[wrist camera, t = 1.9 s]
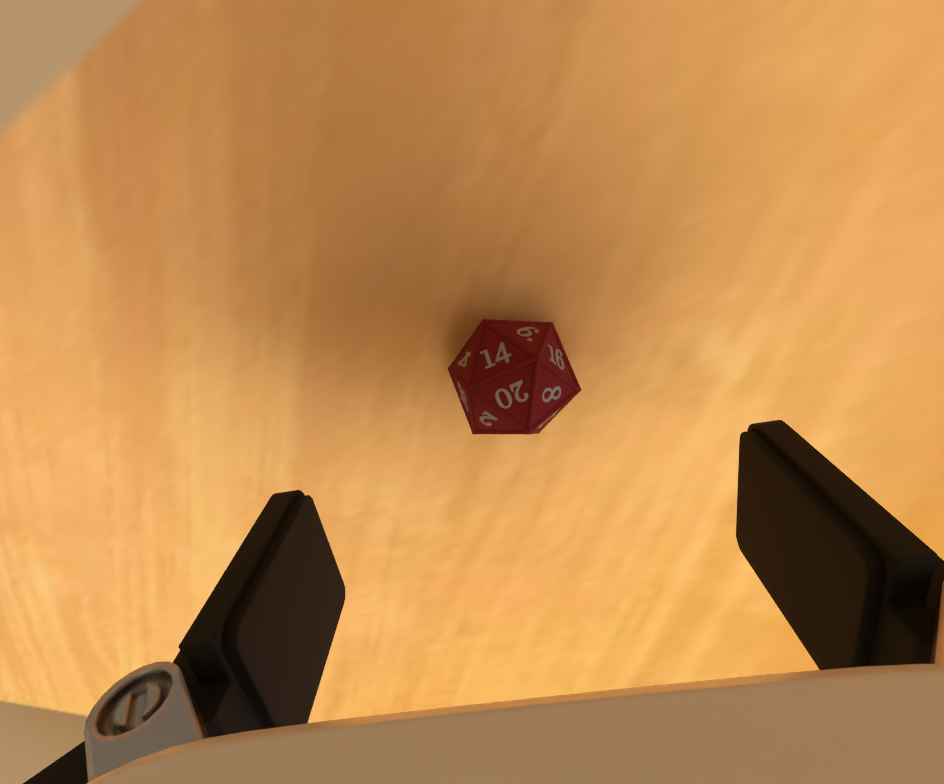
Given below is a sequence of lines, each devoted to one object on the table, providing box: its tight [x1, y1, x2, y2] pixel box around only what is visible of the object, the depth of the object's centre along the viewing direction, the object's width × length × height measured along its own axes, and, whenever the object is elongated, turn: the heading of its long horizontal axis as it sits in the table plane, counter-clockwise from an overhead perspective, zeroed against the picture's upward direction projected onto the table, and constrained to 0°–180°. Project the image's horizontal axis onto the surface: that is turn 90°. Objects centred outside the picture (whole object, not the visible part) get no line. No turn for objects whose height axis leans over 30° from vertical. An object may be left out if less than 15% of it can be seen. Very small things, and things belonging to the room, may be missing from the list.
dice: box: [448, 319, 581, 434], centre depth 17 cm, size 4×4×4 cm
